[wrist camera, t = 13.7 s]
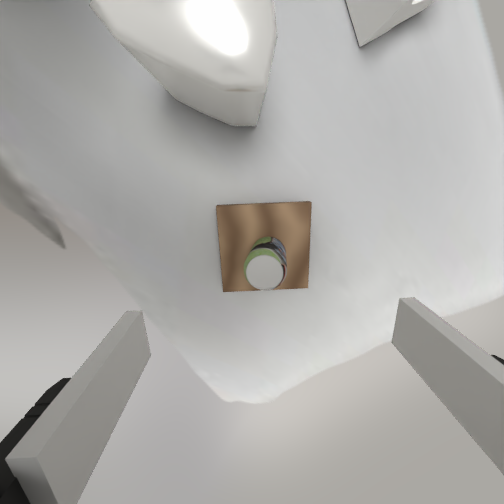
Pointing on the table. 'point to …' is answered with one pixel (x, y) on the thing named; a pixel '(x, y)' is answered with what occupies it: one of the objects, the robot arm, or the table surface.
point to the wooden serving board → (256, 227)
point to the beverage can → (266, 264)
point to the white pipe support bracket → (381, 15)
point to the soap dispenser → (201, 50)
